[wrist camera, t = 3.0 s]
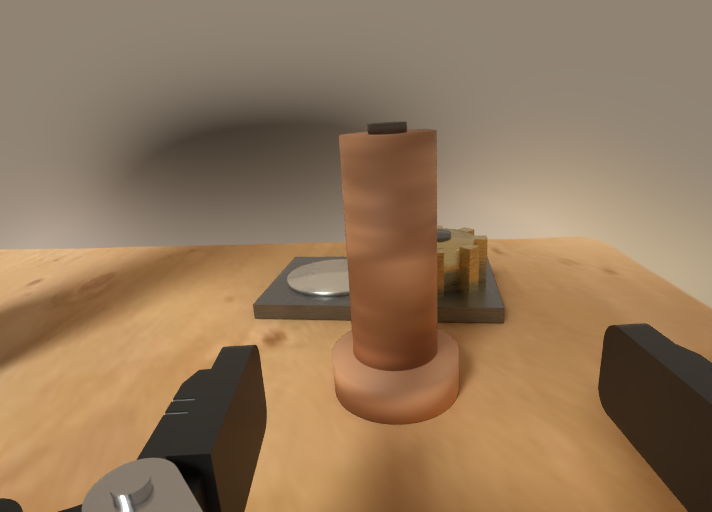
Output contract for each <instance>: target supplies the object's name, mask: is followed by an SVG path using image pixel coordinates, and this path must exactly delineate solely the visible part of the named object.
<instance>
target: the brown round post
mask: <svg viewBox="0 0 712 512" xmlns="http://www.w3.org/2000/svg"><path fill="white" fill-rule="evenodd" d="M406 124H407V122H384V123H372V124H367V125H368V132H360V133H351V134H344V135H340V136H339V143H340V158H341V172H342V188H343V203H344V217H345V232H346V247H347V262H348V277H349V292H350V307H351V322H352V330H351V331H349V332H348V333H346V334H345V335H343V336H342V337H341V338H340V339H339V340H338V341H337V342H336V344H335V345H334V348H333V366H334V379H335V391H336V396H337V398H338V400H339V402H340V403H341V404H342V406H344V407H345V408H346V409H347V410H348V411H349V412H351V413H352V414H354V415H356V416H358V417H360V418H363V419H365V420H369V421H372V422H377V423H383V424H411V423H417V422H421V421H425V420H428V419H431V418H434V417H436V416H438V415H440V414H442V413H443V412H445V411H446V410H447V409H448V408H450V407H451V406H452V404H453V403H454V402H455V400H456V398H457V396H458V392H459V347H458V345H457V343H456V341H455V340H454V339H453V338H452V337H451V336H450V335H449V334H447V333H446V332H444V331H442V330H440V329H438V328H437V153H436V152H437V140H436V130H429V129H410V130H407V125H406Z"/></svg>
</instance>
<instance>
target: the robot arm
mask: <svg viewBox="0 0 712 512" xmlns="http://www.w3.org/2000/svg"><path fill="white" fill-rule="evenodd" d="M598 390H599V397H600V401H601V404H602V406H603V408H604V410H605V412H606V413H607V415H608V416H609V417H610V418H611V420H612V421H613V422H614V423H615V424H616V426H617V427H618V428H619V429H620V430H621V432H622V433H623V434H624V435H625V436H626V438H627V439H628V440H629V441H630V442H631V444H632V445H633V446H634V447H635V448H636V450H637V451H638V452H639V453H640V454H641V456H642V457H643V458H644V459H645V460H646V461H647V463H648V464H649V465H650V466H651V467H652V469H653V470H654V471H655V472H656V473H657V475H658V476H659V477H660V478H661V479H662V481H663V482H664V483H665V484H666V485H667V487H668V488H669V489H670V490H671V491H672V493H673V494H674V495H675V496H676V497H677V499H678V500H679V501H680V502H681V503H682V505H683V506H684V507H685V508H686V509H687V511H688V512H712V363H711V362H710V361H708V360H707V359H705V358H704V357H703V356H701V355H699V354H697V353H695V352H693V351H690V350H688V349H686V348H683V347H681V346H679V345H677V344H675V343H673V342H672V341H671V340H669V339H668V338H666V337H665V336H664V335H662V334H661V333H660V332H658V331H657V330H656V329H654V328H653V327H651V326H650V325H648V324H626V325H611V326H609V327H608V328H607V330H606V332H605V335H604V342H603V351H602V359H601V367H600V376H599V385H598ZM266 419H267V409H266V399H265V391H264V384H263V377H262V369H261V362H260V355H259V350H258V347H257V346H256V345H246V346H229V347H223V348H222V349H221V351H220V353H219V355H218V357H217V359H216V361H215V363H214V364H213V366H212V368H211V369H205V370H199V371H197V372H196V373H195V374H194V375H192V376H191V377H190V378H189V379H187V380H186V381H185V382H184V383H182V385H181V387H180V388H179V390H178V392H177V393H176V395H175V397H174V398H173V402H171V403H170V405H169V407H168V408H167V410H166V412H165V415H163V417H162V418H161V420H160V422H159V423H158V425H157V427H156V428H155V430H154V432H153V433H152V435H151V437H150V438H149V440H148V442H147V443H146V445H145V447H144V448H143V450H142V452H141V453H140V455H139V457H138V458H137V460H135V461H132V462H129V463H127V464H124V465H122V466H120V467H118V468H116V469H114V470H112V471H111V472H109V473H108V474H106V475H105V476H104V477H102V478H101V479H100V480H99V481H98V482H97V483H95V484H94V486H93V487H92V488H91V489H90V490H89V492H88V493H87V495H86V497H85V499H84V501H83V504H81V505H78V506H75V507H72V508H69V509H66V510H62V511H59V512H244V511H245V507H246V503H247V500H248V496H249V492H250V488H251V484H252V480H253V476H254V472H255V469H256V465H257V461H258V457H259V453H260V449H261V445H262V441H263V438H264V434H265V429H266ZM0 512H23V510H22V508H21V506H20V504H18V503H17V502H16V501H14V500H11V499H4V498H1V499H0Z"/></svg>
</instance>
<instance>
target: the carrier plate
mask: <svg viewBox="0 0 712 512" xmlns="http://www.w3.org/2000/svg"><path fill="white" fill-rule="evenodd" d="M253 309H254V316H255V318H264V319H319V320H351V307H350V292H349V277H348V262H347V257H295V258H294V259H293V260H292V261H291V263H290V264H289V265H288V266H287V267H286V268H285V269H284V270H283V272H282V273H281V274H280V275H279V276H278V277H277V278H276V279H275V280H274V282H273V283H272V284H271V285H270V286H269V287H268V288H267V289H266V291H265V292H264V293H263V294H262V295H261V296H260V297H259V298H258V299H257V301H256V302H255V303H254V304H253ZM437 322H482V323H504V306H503V303H502V300H501V297H500V294H499V291H498V288H497V285H496V282H495V279H494V276H493V273H492V270H491V267H490V264H489V261H488V258H487V271H486V281H478V290H476V291H473V292H471V293H468V292H465V291H462V290H455V291H448V292H444V297H437Z"/></svg>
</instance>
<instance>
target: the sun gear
mask: <svg viewBox="0 0 712 512" xmlns="http://www.w3.org/2000/svg"><path fill="white" fill-rule="evenodd" d="M486 271H487V237H486V236H474V230H473V229H469V228H462V229H459V230H455V229H443V228H442V226H437V297H444V292H448V291H455V290H462V291H465V292H468V293H471V292H473V291H476V290H478V281H486Z"/></svg>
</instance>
